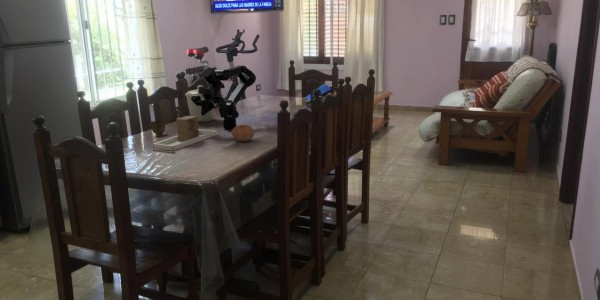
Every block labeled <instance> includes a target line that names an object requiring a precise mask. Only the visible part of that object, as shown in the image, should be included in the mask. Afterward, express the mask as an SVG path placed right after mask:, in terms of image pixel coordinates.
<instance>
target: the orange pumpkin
mask: <svg viewBox="0 0 600 300" xmlns="http://www.w3.org/2000/svg"><path fill="white" fill-rule="evenodd" d="M231 130H232V131H231V136H232V138H233V139H234V140H236V141H238V142H243V143H244V142H248V141H250V140H252V139H253V138H254V135H255V130H254V129H253V127H252V126H250V125H248V124H240V125H236V127H235V128H234V129H231Z"/></svg>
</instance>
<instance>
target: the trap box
mask: <svg viewBox="0 0 600 300" xmlns="http://www.w3.org/2000/svg"><path fill="white" fill-rule="evenodd" d="M198 130H199V136H198V137H195V138H192V139H190V140H187V141H184V142H179V140H178V135H175V136H171V137H169V138H165V139H163V140H160V141H157V142H154V143H152V145H151V146H152V152H155V153H156V152H157V153H163V154H176V150H178V149H179V150H180V149H181V148H184V147H187V146H191V145H192V144H195V143H198V142H200V141H203V140H206V139H209V138H213V137H214V136H217V135H218V133H217V130H213V129H211V130H210V129H199V128H198ZM173 151H175V152H173Z"/></svg>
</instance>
